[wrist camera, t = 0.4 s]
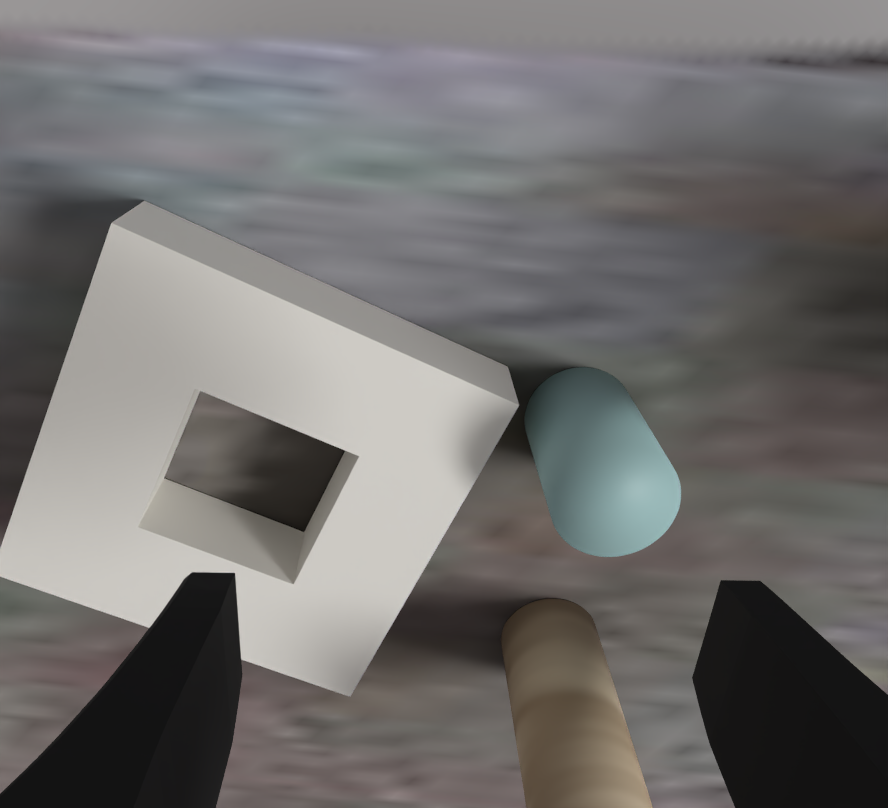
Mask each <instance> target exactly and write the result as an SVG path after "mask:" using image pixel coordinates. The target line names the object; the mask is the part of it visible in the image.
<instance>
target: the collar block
mask: <svg viewBox="0 0 888 808" xmlns="http://www.w3.org/2000/svg"><path fill="white" fill-rule="evenodd" d="M200 391H202V392H204V393H207V394H209V395H212V396H214V397H217V398H219V399H221V400H224V401H226V402H229V403H231V404H233V405H236V406H238V407H241V408H243V409H246V410H248V411H250V412H253V413H255V414H258V415H260V416H263V417H265V418H267V419H270V420H272V421H275V422H277V423H280V424H282V425H284V426H287V427H289V428H292V429H294V430H297V431H299V432H301V433H304V434H306V435H309V436H311V437H313V438H316V439H318V440H321V441H323V442H326V443H328V444H330V445H333V446H335V447H338V448H340V449H343V450H345V452H344V454H343V456H342V458H341V460H340V462H339V464H338V466H337V468H336V470H335V472H334V474H333V476H332V478H331V480H330V482H329V484H328V486H327V488H326V490H325V492H324V494H323V496H322V498H321V500H320V502H319V504H318V506H317V508H316V510H315V512H314V514H313V516H312V517H311V519H310V521H309V523H308V525H307V527H306V529H305V531H304V532H302V531H300V530H297V529H295V528H292V527H289V526H287V525H284V524H282V523H279V522H276V521H274V520H271V519H269V518H266V517H263V516H261V515H258V514H256V513H253V512H250V511H248V510H245V509H243V508H240V507H237V506H235V505H232V504H230V503H227V502H224V501H222V500H219V499H217V498H214V497H212V496H209V495H206V494H204V493H201V492H199V491H196V490H193V489H191V488H188V487H186V486H183V485H180V484H178V483H175V482H173V481H170V480H167V479H165V478H164V477H165V474H166V472H167V470H168V467H169V465H170V462H171V460H172V458H173V455H174V453H175V450H176V448H177V446H178V443H179V441H180V438H181V436H182V433H183V431H184V429H185V426H186V424H187V421H188V419H189V417H190V414H191V412H192V409H193V407H194V405H195V402H196V400H197V397H198V395H199V392H200ZM518 407H519V403H518V399H517V396H516V393H515V389H514V386H513V382H512V379H511V376H510V372H509V369H508V367H507V366H505V365H503V364H501V363H499V362H496V361H494V360H492V359H490V358H488V357H485V356H483V355H481V354H479V353H477V352H475V351H472V350H470V349H468V348H466V347H464V346H461V345H459V344H457V343H455V342H453V341H450V340H448V339H446V338H444V337H442V336H439V335H437V334H435V333H433V332H431V331H429V330H426V329H424V328H422V327H420V326H418V325H415V324H413V323H411V322H409V321H407V320H404V319H402V318H400V317H398V316H396V315H394V314H391V313H389V312H387V311H385V310H383V309H380V308H378V307H376V306H374V305H372V304H369V303H367V302H365V301H363V300H361V299H359V298H356V297H354V296H352V295H350V294H348V293H345V292H343V291H341V290H339V289H337V288H334V287H332V286H330V285H328V284H326V283H324V282H321V281H319V280H317V279H315V278H313V277H310V276H308V275H306V274H304V273H302V272H299V271H297V270H295V269H293V268H291V267H289V266H286V265H284V264H282V263H280V262H278V261H275V260H273V259H271V258H269V257H267V256H264V255H262V254H260V253H258V252H256V251H254V250H251V249H249V248H247V247H245V246H243V245H240V244H238V243H236V242H234V241H232V240H229V239H227V238H225V237H223V236H221V235H219V234H216V233H214V232H212V231H210V230H208V229H205V228H203V227H201V226H199V225H197V224H194V223H192V222H190V221H188V220H186V219H184V218H181V217H179V216H177V215H175V214H173V213H170V212H168V211H166V210H164V209H162V208H159V207H157V206H155V205H153V204H151V203H149V202H146V201H143V202H142V203H140V204H139V205H137V206H136V207H134V208H133V209H131V210H130V211H128V212H127V213H125V214H124V215H122V216H121V217H119V218H118V219H116V220H115V221H113V222H112V223H111V226H110V228H109V231H108V234H107V237H106V240H105V243H104V246H103V249H102V252H101V255H100V258H99V261H98V264H97V267H96V269H95V272H94V275H93V278H92V281H91V284H90V287H89V290H88V293H87V296H86V299H85V302H84V305H83V308H82V311H81V313H80V316H79V319H78V322H77V325H76V328H75V331H74V334H73V337H72V340H71V343H70V346H69V349H68V352H67V355H66V357H65V360H64V363H63V366H62V369H61V372H60V375H59V378H58V381H57V384H56V387H55V390H54V393H53V396H52V399H51V401H50V404H49V407H48V410H47V413H46V416H45V419H44V422H43V425H42V428H41V431H40V434H39V437H38V440H37V443H36V445H35V448H34V451H33V454H32V457H31V460H30V463H29V466H28V469H27V472H26V475H25V478H24V481H23V484H22V486H21V489H20V492H19V495H18V498H17V501H16V504H15V507H14V510H13V513H12V516H11V519H10V522H9V525H8V528H7V530H6V533H5V536H4V539H3V542H2V545H1V548H0V577H3V578H6V579H9V580H12V581H15V582H18V583H20V584H23V585H26V586H29V587H32V588H35V589H38V590H41V591H44V592H47V593H50V594H52V595H55V596H58V597H61V598H64V599H67V600H70V601H73V602H76V603H79V604H82V605H84V606H87V607H90V608H93V609H96V610H99V611H102V612H105V613H108V614H111V615H114V616H116V617H119V618H122V619H125V620H128V621H131V622H134V623H137V624H140V625H143V626H146V627H148V628H150V627H151V625H152V624H153V623H154V621H155V620H156V619H157V617H158V616H159V615H160V613H161V612H162V610H163V609H164V608H165V606H166V605H167V603H168V602H169V600H170V599H171V598H172V596H173V595H174V593H175V592H176V590H177V589H178V587H179V586H180V584H181V583H182V581H183V580H184V578H186V577H187V576H188V575H189V574H191V573H192V572H211V573H235V579H236V593H237V608H238V622H239V636H240V651H241V659H242V660H244V661H247V662H250V663H253V664H256V665H259V666H262V667H265V668H268V669H271V670H274V671H276V672H279V673H282V674H285V675H288V676H291V677H294V678H297V679H300V680H303V681H306V682H308V683H311V684H314V685H317V686H320V687H323V688H326V689H329V690H332V691H335V692H338V693H340V694H343V695H346V696H349V697H350V696H351V694H352V693H353V691H354V689H355V688H356V686H357V684H358V682H359V681H360V679H361V677H362V676H363V674H364V672H365V670H366V669H367V667H368V665H369V663H370V662H371V660H372V658H373V657H374V655H375V653H376V651H377V650H378V648H379V646H380V644H381V643H382V641H383V639H384V638H385V636H386V634H387V632H388V631H389V629H390V627H391V626H392V624H393V622H394V620H395V619H396V617H397V615H398V613H399V612H400V610H401V608H402V607H403V605H404V603H405V601H406V600H407V598H408V596H409V595H410V593H411V591H412V589H413V588H414V586H415V584H416V582H417V581H418V579H419V577H420V576H421V574H422V572H423V570H424V569H425V567H426V565H427V563H428V562H429V560H430V558H431V557H432V555H433V553H434V551H435V550H436V548H437V546H438V545H439V543H440V541H441V539H442V538H443V536H444V534H445V532H446V531H447V529H448V527H449V526H450V524H451V522H452V520H453V519H454V517H455V515H456V514H457V512H458V510H459V508H460V507H461V505H462V503H463V501H464V500H465V498H466V496H467V495H468V493H469V491H470V489H471V488H472V486H473V484H474V483H475V481H476V479H477V477H478V476H479V474H480V472H481V470H482V469H483V467H484V465H485V464H486V462H487V460H488V458H489V457H490V455H491V453H492V451H493V450H494V448H495V446H496V445H497V443H498V441H499V439H500V438H501V436H502V434H503V433H504V431H505V429H506V427H507V426H508V424H509V422H510V420H511V419H512V417H513V415H514V414H515V412H516V410H517V408H518Z"/></svg>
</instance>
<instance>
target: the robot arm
mask: <svg viewBox="0 0 888 808" xmlns="http://www.w3.org/2000/svg"><path fill="white" fill-rule="evenodd" d="M692 679H693V683H694V687H695V691H696V695H697V699H698V703H699V707H700V711H701V715H702V718H703V722H704V725H705V729H706V732H707V736H708V739H709V743H710V746H711V748H712V751H713V753H714V756H715V759H716V761H717V764H718V766H719V769H720V771H721V774H722V776H723V779H724V781H725V783H726V786H727V788H728V791H729V793H730V796H731V798H732V801H733V803H734V806H735V808H888V695H887V694H886V693H885V692H884V691H883V690H881V689H880V688H879V687H878V686H877V685H876V684H875V683H873V682H872V681H871V680H870V679H869V678H868V677H867V676H865V675H864V674H863V673H862V672H861V671H860V670H859V669H857V668H856V667H855V666H854V665H853V664H852V663H851V662H850V661H848V660H847V659H846V658H845V657H844V656H843V655H842V654H841V653H840V652H838V651H837V650H836V649H835V648H834V647H833V646H832V645H831V644H830V643H829V642H827V641H826V640H825V639H824V638H823V637H822V636H821V635H820V634H819V633H818V632H817V631H815V630H814V629H813V628H812V627H811V626H810V625H809V624H808V623H807V622H806V621H805V620H803V619H802V618H801V617H800V616H799V615H798V614H797V613H796V612H795V611H794V610H793V609H791V608H790V607H789V606H788V605H787V604H786V603H785V602H784V601H783V600H782V599H780V598H779V597H778V596H777V595H776V594H775V593H774V592H773V591H771V590H770V589H769V588H768V587H767V586H766V585H764V584H763V583H762V582H761V581H728V580H721V582H720V585H719V589H718V592H717V596H716V599H715V602H714V606H713V609H712V613H711V616H710V620H709V623H708V626H707V630H706V633H705V637H704V640H703V643H702V647H701V650H700V654H699V657H698V660H697V664H696V667H695V671H694V674H693V677H692ZM241 680H242V665H241V651H240V636H239V622H238V608H237V593H236V579H235V573H211V572H192V573H191V574H189V575H188V576H187V577H186V578H184V580H183V581H182V583H181V584H180V586H179V587H178V589H177V590H176V592H175V593H174V595H173V596H172V598H171V599H170V600H169V602H168V603H167V605H166V606H165V608H164V609H163V610H162V612H161V613H160V615H159V616H158V617H157V619H156V620H155V621H154V623H153V624H152V625H151V627H150V628H149V629H148V631H147V632H146V633H145V635H144V636H143V637H142V639H141V640H140V641H139V642H138V644H137V645H136V646H135V648H134V649H133V650H132V651H131V652H130V654H129V655H128V656H127V657H126V659H125V660H124V661H123V662H122V664H121V665H120V666H119V667H118V669H117V670H116V671H115V672H114V673H113V675H112V676H111V677H110V678H109V680H108V681H107V682H106V683H105V684H104V686H103V687H102V688H101V689H100V690H99V691H98V693H97V694H96V695H95V696H94V697H93V698H92V699H91V700H90V702H89V703H88V704H87V705H86V706H85V707H84V708H83V709H82V710H81V712H80V713H79V714H78V715H77V716H76V717H75V718H74V719H73V720H72V722H71V723H70V724H69V725H68V726H67V727H66V728H65V729H64V730H63V732H62V733H61V734H60V735H59V736H58V737H57V738H56V739H55V740H54V741H53V742H52V743H51V744H50V745H49V746H48V747H47V748H46V749H45V751H44V752H43V753H42V754H41V755H40V756H39V757H38V758H37V759H36V760H35V761H34V762H33V763H32V764H31V765H30V766H29V767H28V768H27V769H26V770H25V771H24V772H23V773H22V774H20V775H19V776H18V777H17V778H16V779H15V780H14V781H13V782H12V783H11V784H10V785H9V786H8V787H7V788H6V789H5V790H4V791H3V792H2V793H1V794H0V808H216V804H217V800H218V796H219V792H220V789H221V785H222V781H223V777H224V773H225V769H226V766H227V762H228V758H229V754H230V750H231V746H232V741H233V735H234V728H235V722H236V715H237V709H238V702H239V694H240V687H241Z"/></svg>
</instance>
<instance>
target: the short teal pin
mask: <svg viewBox="0 0 888 808" xmlns="http://www.w3.org/2000/svg"><path fill="white" fill-rule="evenodd" d="M524 422H525V430H526V434H527V437H528V441H529V444H530V447H531V451H532V454H533V457H534V461H535V464H536V468H537V471H538V474H539V478H540V481H541V484H542V488H543V491H544V495H545V498H546V501H547V505H548V508H549V511H550V515H551V518H552V521H553V524H554V526H555V528H556V530H557V532H558V533H559V535H560V536H561V537H562V538H563V539H564V540H565V541H566V542H567V543H568V544H569V545H571V546H572V547H574V548H575V549H577V550H579V551H581V552H584V553H587V554H590V555H595V556H602V557H616V556H623V555H627V554H631V553H634V552H637V551H639V550H641V549H643V548H645V547H647V546H649V545H650V544H652V543H654V542H655V541H656V540H657V539H659V538H660V537H661V536H662V535H663V534H664V533H665V532H666V531H667V529H668V528H669V527H670V526H671V524H672V522H673V521H674V519H675V517H676V515H677V513H678V510H679V506H680V501H681V487H680V481H679V478H678V475H677V473H676V471H675V470H674V468H673V466H672V464H671V463H670V461H669V460H668V458H667V456H666V455H665V453H664V451H663V450H662V448H661V446H660V445H659V443H658V441H657V440H656V438H655V436H654V435H653V433H652V431H651V430H650V428H649V427H648V425H647V423H646V422H645V420H644V418H643V417H642V415H641V413H640V412H639V410H638V408H637V407H636V405H635V403H634V402H633V400H632V398H631V397H630V395H629V394H628V392H627V390H626V389H625V387H624V386H623V385H622V383H621V382H620V381H619V380H618V379H616V378H615V377H614V376H612V375H610V374H609V373H607V372H604V371H602V370H599V369H595V368H588V367H578V368H571V369H567V370H563V371H561V372H558V373H556V374H554V375H552V376H551V377H549V378H548V379H546V380H545V381H544V382H543V383H542V384H541V385H539V387H538V388H537V389H536V390H535V391H534V393H533V394H532V396H531V398H530V400H529V402H528V404H527V407H526V411H525V420H524Z"/></svg>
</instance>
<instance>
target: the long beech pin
mask: <svg viewBox="0 0 888 808" xmlns="http://www.w3.org/2000/svg"><path fill="white" fill-rule="evenodd" d="M501 646H502V652H503V659H504V665H505V672H506V678H507V685H508V691H509V698H510V704H511V711H512V717H513V723H514V730H515V736H516V743H517V749H518V756H519V762H520V769H521V775H522V782H523V788H524V795H525V801H526V808H653V807H652V804H651V801H650V797H649V794H648V791H647V788H646V785H645V782H644V778H643V775H642V772H641V769H640V766H639V763H638V759H637V756H636V753H635V750H634V747H633V744H632V740H631V737H630V734H629V731H628V728H627V724H626V721H625V718H624V715H623V712H622V709H621V705H620V702H619V699H618V696H617V693H616V690H615V686H614V683H613V680H612V677H611V674H610V671H609V667H608V664H607V661H606V658H605V655H604V652H603V648H602V645H601V642H600V639H599V636H598V633H597V629H596V626H595V623H594V621H593V619H592V617H591V616H590V614H589V613H588V612H587V611H586V610H585V609H583V608H582V607H581V606H579V605H577V604H575V603H573V602H570V601H567V600H562V599H543V600H538V601H535V602H532V603H529V604H527V605H525V606H523V607H522V608H520V609H518V610H517V611H516V612H515V613H514V614H513V615H512V616H511V617H510V618H509V619H508V621H507V622H506V624H505V626H504V628H503V631H502V635H501Z"/></svg>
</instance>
